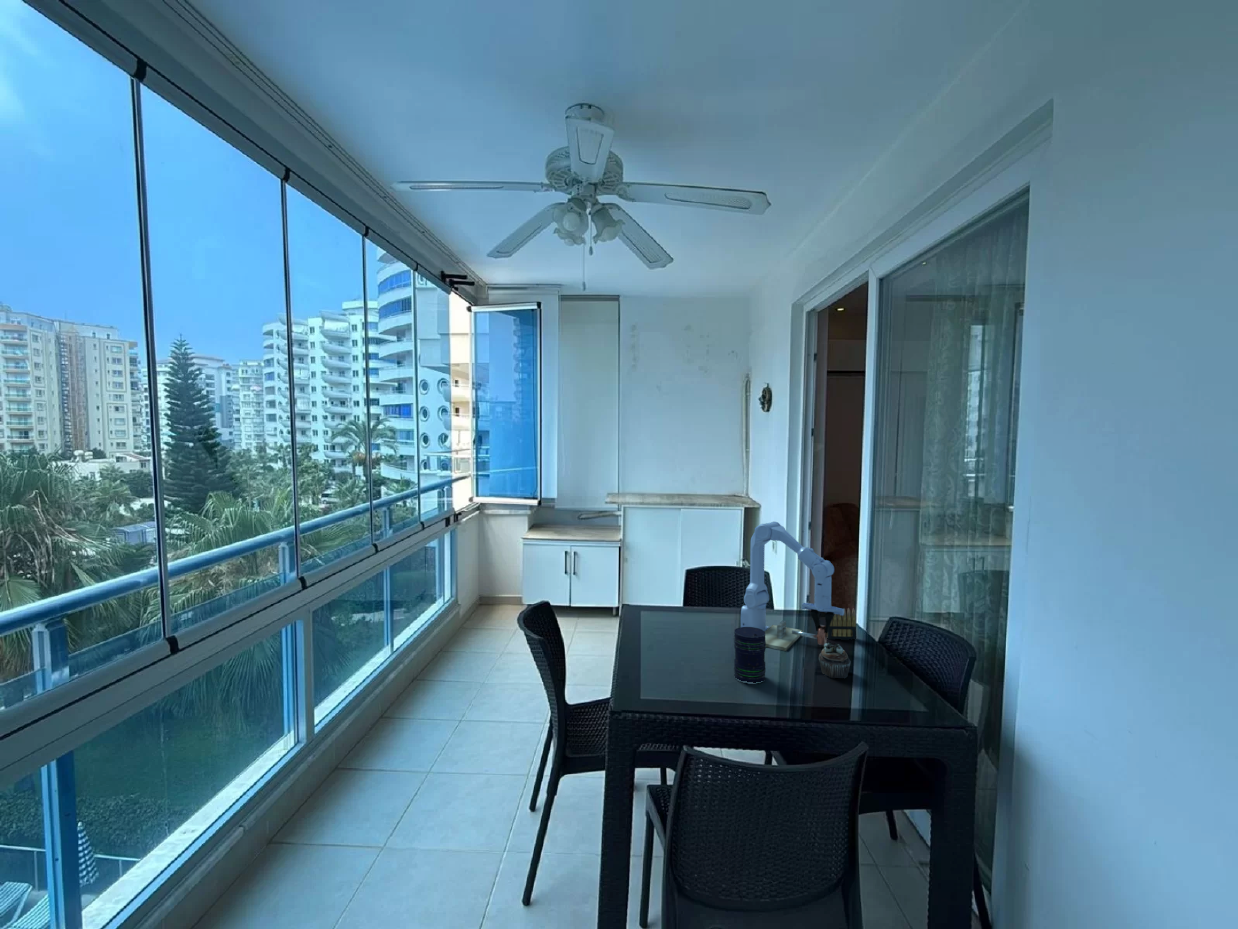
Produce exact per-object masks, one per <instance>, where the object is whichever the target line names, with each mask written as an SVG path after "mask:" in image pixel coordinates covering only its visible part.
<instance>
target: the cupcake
mask: <svg viewBox="0 0 1238 929" xmlns="http://www.w3.org/2000/svg"><path fill="white" fill-rule="evenodd" d="M818 661H819V664H820V669H821V673H822V674H825V675H827V676H829V677H828V678H830V677H831V678H830V679H835V678H844V679H846V678H847V677H848V676H849V671H850V666H851V662H852V661H851V660H850V658H849V656H848V654H847V652H846V650H844V649H843V647H842V646H841V645H840V643H838V642H836V643H833V642H831V641H827V642H826V644H824V645H823V648H822V650H821V651H820V653H819V654H818ZM825 675H824V676H825ZM827 676H826V677H827Z"/></svg>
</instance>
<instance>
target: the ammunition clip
mask: <svg viewBox="0 0 1238 929" xmlns="http://www.w3.org/2000/svg"><path fill="white" fill-rule="evenodd" d="M843 609H844V615H843V616H842V615H840V614H835V615H834V617H833V619H832V621H831V624H830V627H829V632H828V634H827V638H828V639H827V640H835V639H841V640H843V641H851V640H852V639H856V640H857V626H856V625H857V624H856V623H857V618H856V610H855V608H852V610H850V608H849V607H848V608H847V611H846V609H845V607H843ZM849 639H851V640H849ZM841 640H840V641H841ZM852 641H853V640H852Z"/></svg>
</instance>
